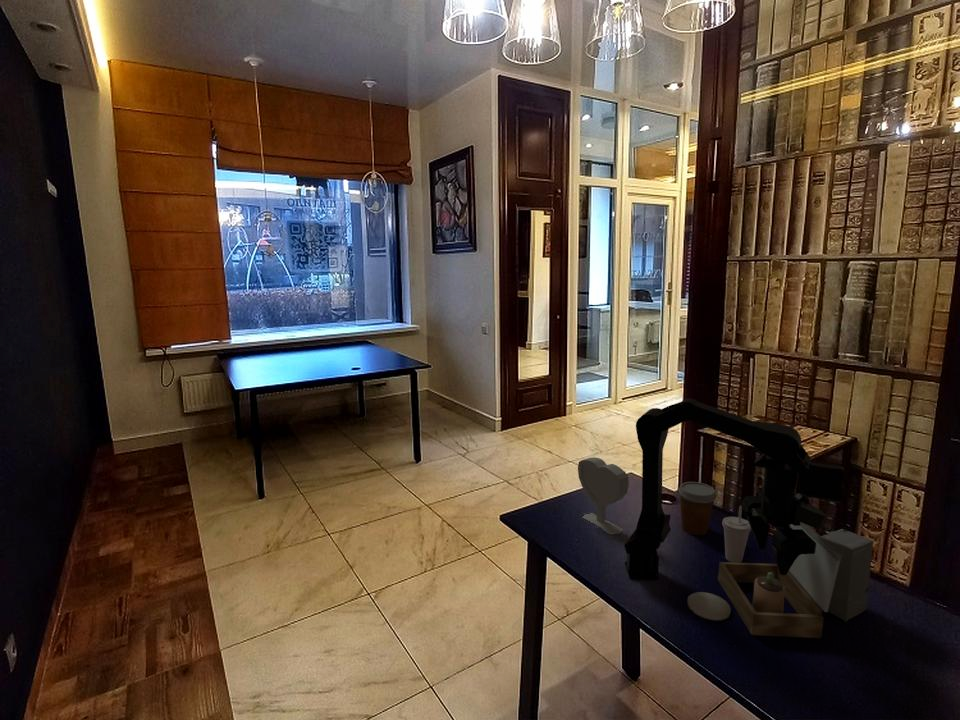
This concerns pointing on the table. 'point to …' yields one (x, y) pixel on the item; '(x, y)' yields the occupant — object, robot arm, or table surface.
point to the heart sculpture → (602, 489)
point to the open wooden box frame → (771, 623)
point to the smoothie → (735, 537)
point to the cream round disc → (709, 606)
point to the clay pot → (768, 594)
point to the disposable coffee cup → (696, 506)
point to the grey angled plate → (817, 568)
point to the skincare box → (850, 573)
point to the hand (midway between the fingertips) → (771, 561)
